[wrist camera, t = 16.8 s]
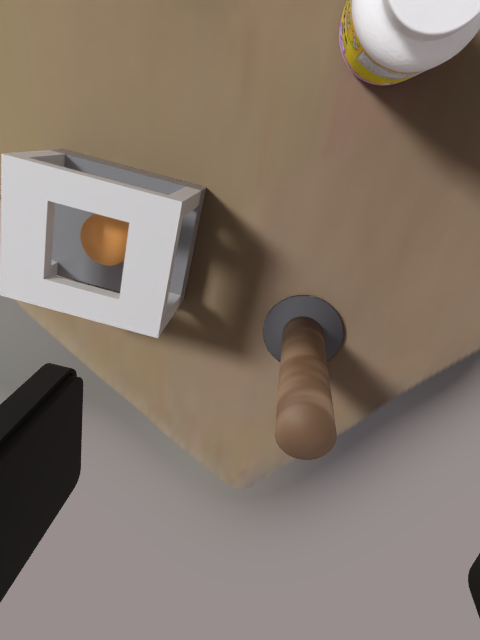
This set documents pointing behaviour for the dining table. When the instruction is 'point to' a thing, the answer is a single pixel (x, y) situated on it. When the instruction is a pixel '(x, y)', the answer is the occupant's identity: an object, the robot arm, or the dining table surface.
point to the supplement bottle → (404, 36)
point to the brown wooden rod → (304, 392)
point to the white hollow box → (66, 248)
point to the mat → (306, 308)
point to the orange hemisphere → (105, 239)
